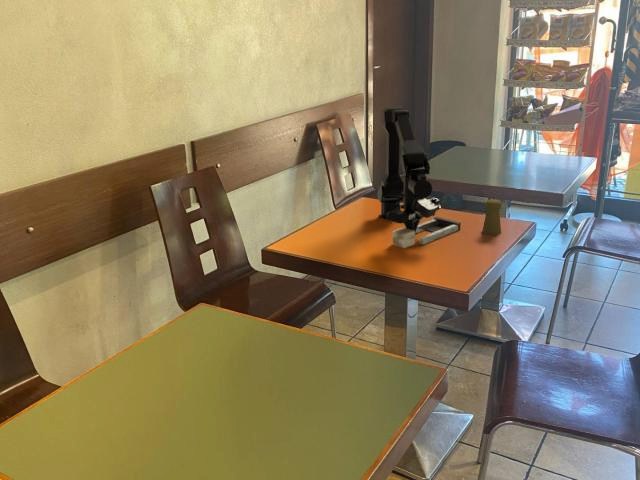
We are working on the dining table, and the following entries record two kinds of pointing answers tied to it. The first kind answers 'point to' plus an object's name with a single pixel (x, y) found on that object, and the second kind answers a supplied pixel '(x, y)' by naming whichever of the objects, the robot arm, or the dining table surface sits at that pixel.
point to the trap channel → (437, 229)
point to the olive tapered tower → (492, 217)
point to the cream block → (403, 237)
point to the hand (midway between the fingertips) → (412, 236)
